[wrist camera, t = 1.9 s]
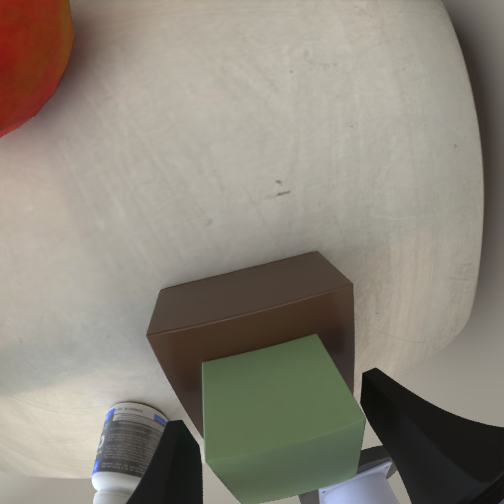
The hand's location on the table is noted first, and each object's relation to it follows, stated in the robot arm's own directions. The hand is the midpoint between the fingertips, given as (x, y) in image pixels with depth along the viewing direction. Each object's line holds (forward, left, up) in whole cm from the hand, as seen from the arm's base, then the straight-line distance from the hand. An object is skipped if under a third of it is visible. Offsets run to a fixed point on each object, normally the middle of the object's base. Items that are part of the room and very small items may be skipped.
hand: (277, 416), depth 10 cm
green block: (0, 0, -2) cm, 2 cm away
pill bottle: (-6, +9, -6) cm, 13 cm away
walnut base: (0, 0, -6) cm, 6 cm away
